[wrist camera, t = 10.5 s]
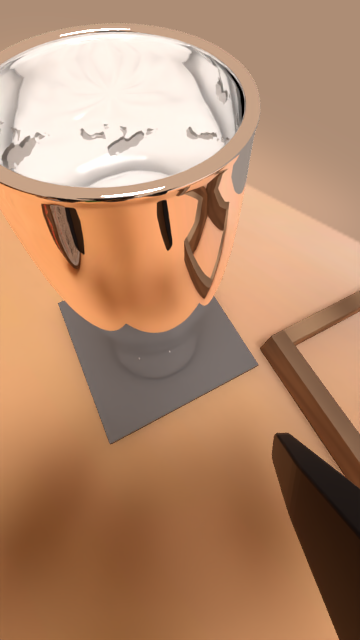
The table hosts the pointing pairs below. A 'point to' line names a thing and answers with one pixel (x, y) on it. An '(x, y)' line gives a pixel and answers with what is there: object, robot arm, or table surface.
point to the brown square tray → (317, 384)
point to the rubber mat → (155, 393)
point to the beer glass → (127, 176)
